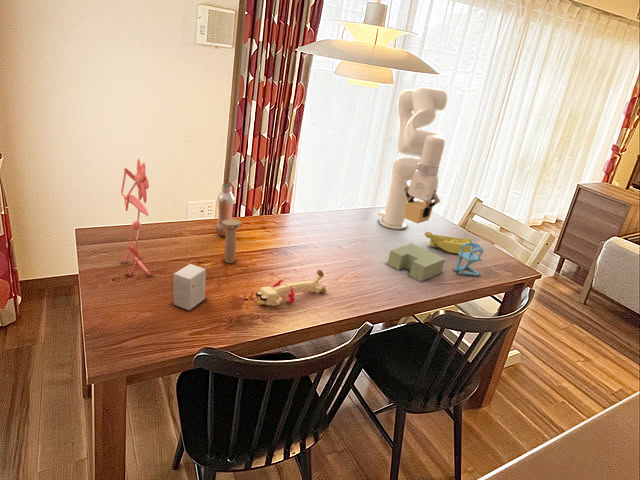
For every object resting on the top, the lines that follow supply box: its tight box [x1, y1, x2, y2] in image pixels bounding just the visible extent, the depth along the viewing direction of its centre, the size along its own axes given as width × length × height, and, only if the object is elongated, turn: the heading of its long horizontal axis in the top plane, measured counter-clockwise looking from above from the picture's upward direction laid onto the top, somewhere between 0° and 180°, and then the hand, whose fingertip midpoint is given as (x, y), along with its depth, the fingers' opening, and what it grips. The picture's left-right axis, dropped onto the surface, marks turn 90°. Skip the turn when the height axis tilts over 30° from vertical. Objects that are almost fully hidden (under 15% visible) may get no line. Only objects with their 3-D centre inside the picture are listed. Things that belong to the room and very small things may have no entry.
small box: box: [173, 263, 207, 311], centre depth 139 cm, size 8×6×10 cm
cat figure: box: [254, 269, 327, 307], centre depth 150 cm, size 10×9×25 cm
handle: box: [222, 218, 242, 264], centre depth 165 cm, size 5×6×15 cm
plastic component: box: [424, 231, 472, 255], centre depth 208 cm, size 20×7×10 cm
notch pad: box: [387, 243, 446, 282], centre depth 184 cm, size 16×14×6 cm
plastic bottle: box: [215, 183, 235, 237], centre depth 183 cm, size 6×7×20 cm
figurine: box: [120, 158, 172, 277], centre depth 148 cm, size 15×26×35 cm, turn 30°
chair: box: [454, 242, 484, 277], centre depth 187 cm, size 8×8×12 cm
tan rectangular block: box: [403, 200, 434, 224], centre depth 191 cm, size 7×12×6 cm, turn 136°
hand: (417, 213), depth 190 cm, fingers closed on tan rectangular block, 7 cm apart
